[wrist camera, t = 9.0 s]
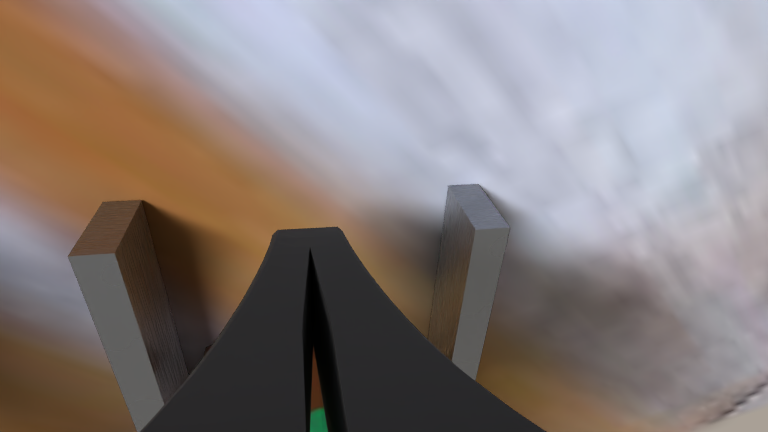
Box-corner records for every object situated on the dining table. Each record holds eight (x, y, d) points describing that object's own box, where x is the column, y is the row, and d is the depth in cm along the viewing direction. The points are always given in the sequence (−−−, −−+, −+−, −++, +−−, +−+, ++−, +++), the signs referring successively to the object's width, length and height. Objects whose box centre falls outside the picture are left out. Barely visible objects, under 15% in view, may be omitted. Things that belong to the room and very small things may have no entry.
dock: (152, 508, 21) (119, 653, 17) (21, 205, 13) (-108, 347, 8) (467, 459, 24) (506, 574, 20) (536, 181, 15) (631, 280, 11)
